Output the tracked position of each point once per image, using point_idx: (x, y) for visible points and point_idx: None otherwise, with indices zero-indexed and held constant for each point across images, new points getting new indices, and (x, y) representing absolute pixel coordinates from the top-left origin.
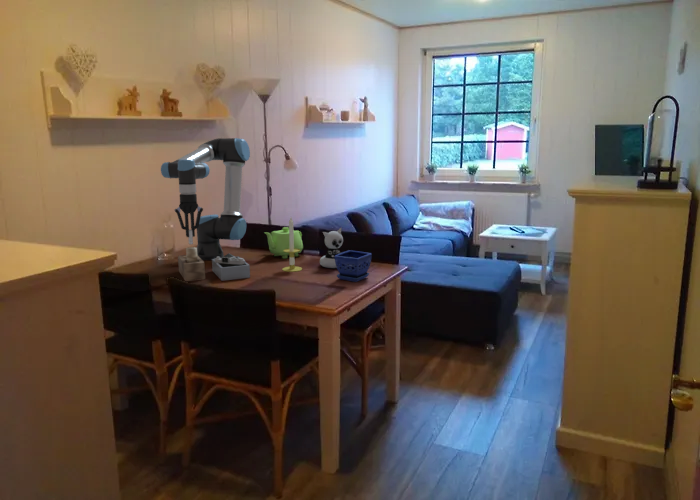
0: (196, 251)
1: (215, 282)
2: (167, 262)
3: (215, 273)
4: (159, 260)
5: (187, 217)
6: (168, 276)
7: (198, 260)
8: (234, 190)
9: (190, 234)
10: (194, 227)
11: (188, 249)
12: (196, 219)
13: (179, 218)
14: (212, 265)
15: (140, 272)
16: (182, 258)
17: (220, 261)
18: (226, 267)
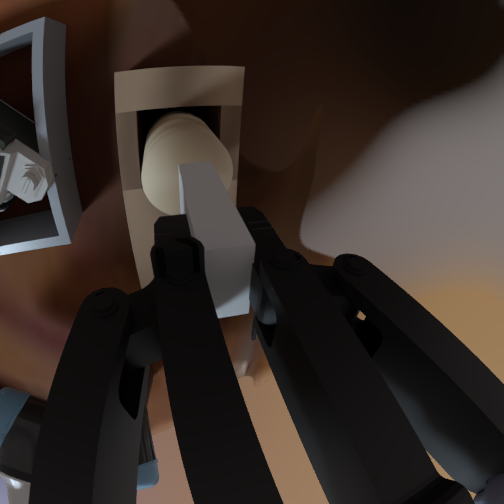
0: (149, 145)
1: (99, 3)
2: (231, 343)
3: (70, 150)
4: (246, 359)
5: (390, 474)
6: (268, 178)
7: (139, 156)
8: None
9: (218, 212)
10: (157, 297)
11: (218, 140)
12: (129, 477)
13: (493, 378)
14: (75, 218)
15: (327, 260)
16: None
17: (23, 149)
18: (16, 29)
